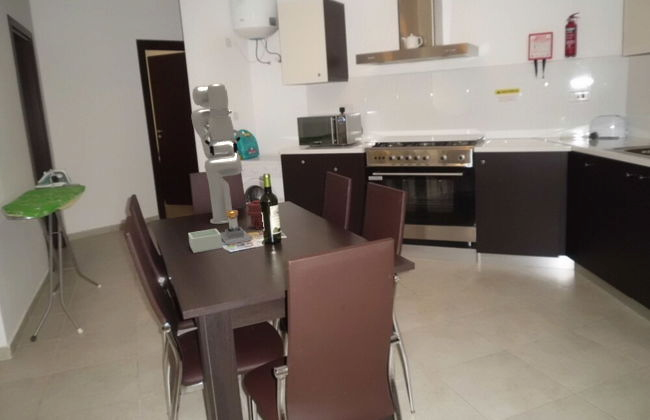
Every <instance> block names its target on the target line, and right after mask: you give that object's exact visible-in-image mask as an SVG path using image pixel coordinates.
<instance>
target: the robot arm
mask: <svg viewBox="0 0 650 420" xmlns="http://www.w3.org/2000/svg"><path fill="white" fill-rule="evenodd" d="M228 97H229V96H228V91H227V88H226V86H225V84H223V83H212V84H209V85H198V86H194V87H193V89H192V100H193V103H194V104H195V105H196V106H200V107H202V108H198V109H197V108H196V109H194V110H192V113H191V115H190V116H191V121H192V126H193V129H194V130H195V132H196V134H197V135H198V136H199V138H200V142H201V145H202V149H203V152H204V157H206V159H207V160H205V162H204V169H205V174H206V178H207V181H208V187H209V197H210V203H211V212H212V218H211V219H210V224H214V225H220V224H221V225H222V224H229V220H228V217H227V215H226V212H227V211H230V210H233V208H232V198H231V191H230V190H231V189H230V186H229V185H230V184H229V183H228V182H227V181H226V180H225V179H224V178H223V177H228V176H236V175H239V174H241V173H242V170H243V166H242V161H241V158H240V154H239V151H238V150H239V149H238V143H239V141H240V140H241V137H242V135H243V132H241V131H239V130H236V129H234V125H233V121H232V117H231V116H230V114H232V112H233V111H232V109H229V98H228ZM235 134H236V135H237V137H236V138H235Z"/></svg>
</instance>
